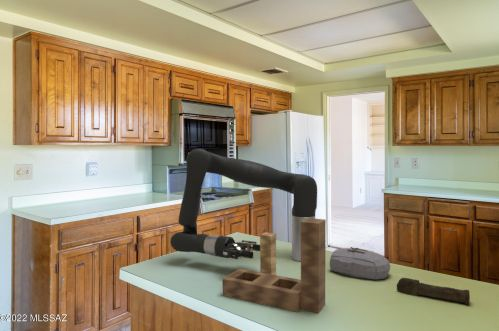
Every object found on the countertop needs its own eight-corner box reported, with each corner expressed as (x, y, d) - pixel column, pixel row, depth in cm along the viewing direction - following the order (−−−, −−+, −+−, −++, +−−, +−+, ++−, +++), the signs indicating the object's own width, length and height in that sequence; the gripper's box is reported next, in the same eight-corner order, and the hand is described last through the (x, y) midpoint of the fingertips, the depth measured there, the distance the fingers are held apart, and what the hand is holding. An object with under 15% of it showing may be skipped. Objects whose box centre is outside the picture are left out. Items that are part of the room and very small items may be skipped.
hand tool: (469, 302, 102) (470, 286, 102) (469, 307, 98) (469, 290, 98) (398, 288, 112) (398, 274, 112) (396, 293, 108) (396, 278, 108)
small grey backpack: (325, 273, 125) (384, 285, 114) (325, 250, 125) (384, 260, 114) (341, 262, 138) (395, 272, 126) (341, 240, 137) (395, 248, 126)
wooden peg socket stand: (222, 295, 107) (221, 215, 106) (239, 283, 116) (238, 210, 115) (316, 316, 93) (316, 225, 92) (327, 301, 102) (327, 218, 101)
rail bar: (260, 279, 120) (260, 234, 119) (265, 275, 124) (265, 232, 123) (271, 281, 118) (270, 236, 117) (276, 277, 122) (276, 233, 121)
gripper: (207, 240, 124) (248, 246, 116) (229, 231, 136) (268, 236, 128) (208, 261, 124) (249, 268, 116) (229, 251, 136) (268, 257, 129)
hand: (258, 251), depth 122 cm, fingers open, 8 cm apart
